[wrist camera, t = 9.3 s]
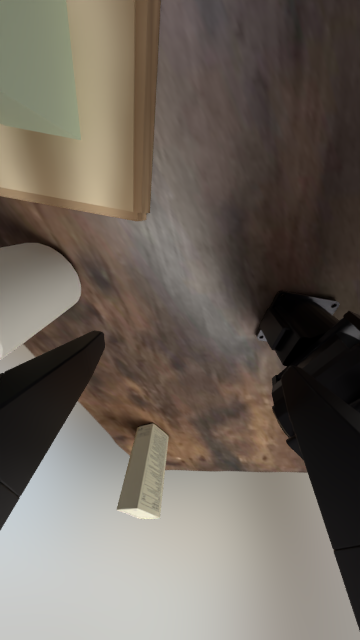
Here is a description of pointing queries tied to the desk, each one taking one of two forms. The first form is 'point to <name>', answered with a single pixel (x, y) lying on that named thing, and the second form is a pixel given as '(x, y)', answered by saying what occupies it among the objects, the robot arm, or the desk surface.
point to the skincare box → (145, 474)
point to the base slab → (96, 118)
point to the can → (32, 291)
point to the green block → (37, 68)
